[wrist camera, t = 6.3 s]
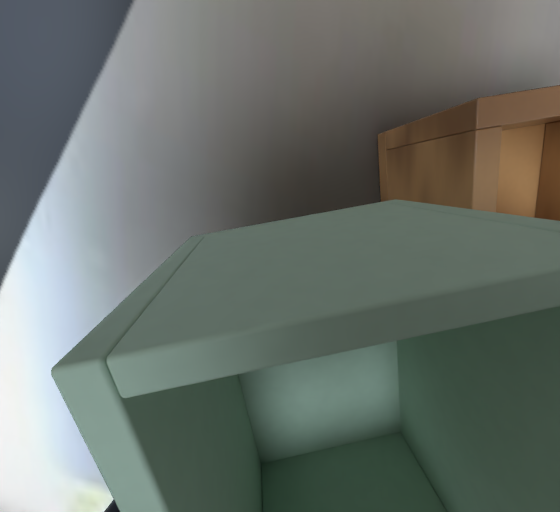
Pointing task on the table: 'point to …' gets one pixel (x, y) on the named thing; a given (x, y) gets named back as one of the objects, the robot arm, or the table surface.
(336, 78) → the table surface
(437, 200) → the crate
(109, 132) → the table surface
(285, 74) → the table surface
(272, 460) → the bin
